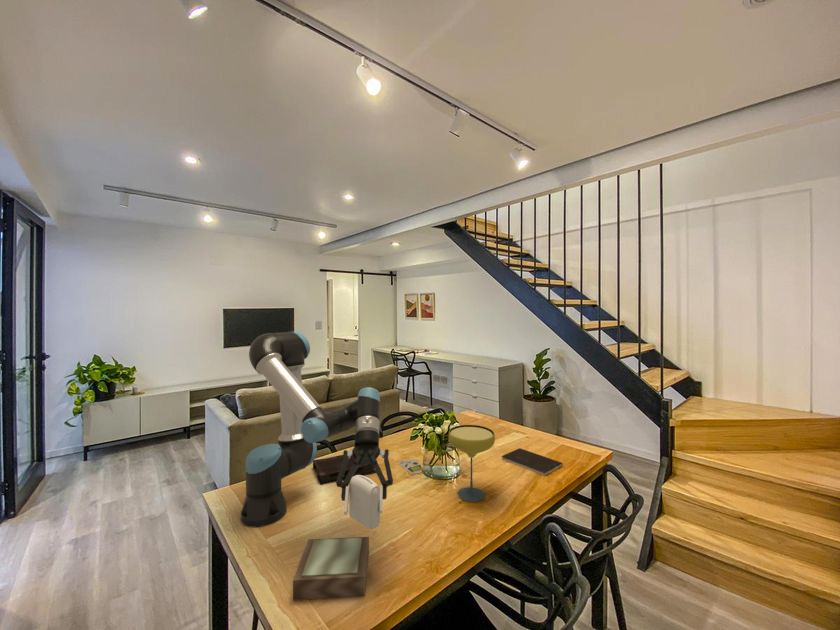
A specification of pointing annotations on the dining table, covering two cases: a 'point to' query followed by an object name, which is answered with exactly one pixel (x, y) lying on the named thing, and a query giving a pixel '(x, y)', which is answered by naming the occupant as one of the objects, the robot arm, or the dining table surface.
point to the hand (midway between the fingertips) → (363, 512)
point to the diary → (338, 468)
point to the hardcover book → (532, 461)
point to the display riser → (332, 568)
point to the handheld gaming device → (415, 464)
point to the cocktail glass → (471, 452)
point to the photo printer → (364, 501)
